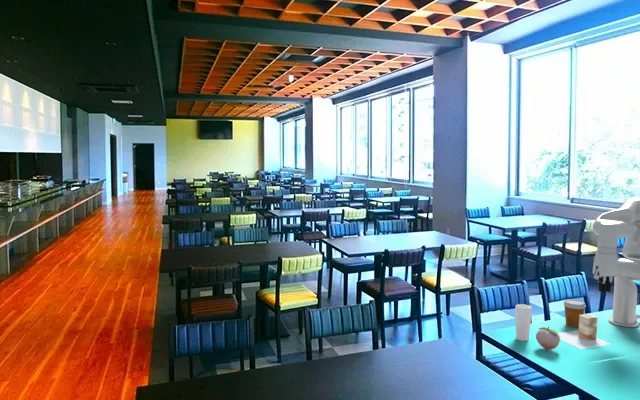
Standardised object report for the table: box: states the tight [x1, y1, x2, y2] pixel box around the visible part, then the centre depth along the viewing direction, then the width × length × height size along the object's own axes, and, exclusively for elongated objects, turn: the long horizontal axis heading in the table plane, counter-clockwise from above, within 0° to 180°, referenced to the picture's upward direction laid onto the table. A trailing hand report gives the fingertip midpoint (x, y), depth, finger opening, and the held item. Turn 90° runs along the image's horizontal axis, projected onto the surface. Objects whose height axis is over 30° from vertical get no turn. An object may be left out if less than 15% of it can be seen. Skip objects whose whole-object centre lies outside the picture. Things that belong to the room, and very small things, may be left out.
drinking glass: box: [514, 303, 533, 342], centre depth 222 cm, size 7×7×15 cm
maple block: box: [578, 313, 598, 341], centre depth 223 cm, size 5×5×10 cm
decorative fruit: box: [535, 326, 561, 351], centre depth 211 cm, size 9×8×10 cm
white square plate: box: [557, 329, 612, 350], centre depth 222 cm, size 17×18×1 cm
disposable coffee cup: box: [563, 298, 587, 329], centre depth 239 cm, size 10×10×12 cm
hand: (604, 291), depth 224 cm, fingers closed
